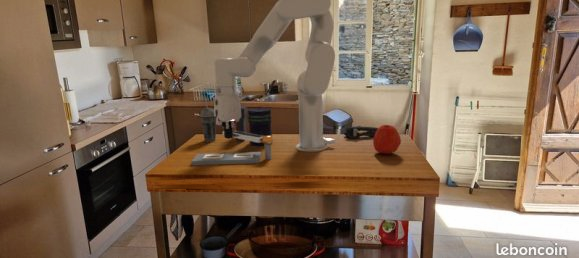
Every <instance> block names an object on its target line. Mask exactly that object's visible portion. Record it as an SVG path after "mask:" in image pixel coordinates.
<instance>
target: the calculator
mask: <svg viewBox="0 0 579 258" xmlns="http://www.w3.org/2000/svg"><path fill="white" fill-rule="evenodd" d="M240 106H241V118H240V119H239V121H238V122H236V123H235V131H240V132H245V133H248V132H247V131H248V129H247V115H248V105H247V104H240ZM245 141H246V140H243V139H238V138H236V142H245Z"/></svg>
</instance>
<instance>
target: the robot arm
mask: <svg viewBox="0 0 579 258" xmlns="http://www.w3.org/2000/svg"><path fill="white" fill-rule="evenodd" d="M331 1H332V0H278V1H277V2H276V3H275V5H274V6H273V7H272V8H271V9H270V11H269V13H268V14H267V16H266V17H265V18H264V20H262V23H260V26H259V27H258V28H257V30H256V31H255V32H254V34H253V36H252V38H251V40H249V42H248V44H247V45H246V46H245V48H244V49H243V50H242V52H241V53H240V55H239V56H238V57H237V58H232V57H219V58H216V59H215V60H214V79H215V88H214V89H213V92H214V93H216V94H215V95H214V100H213V101H214V105H213V109H214V117H215V120H216V126H221V127H222V128H223V131H224V135H223V136H224V138H225V139H228V140H230V139H233V130H234V129H233V128H234V127H235V125H236V122H238V121H239V119H240V118H241V106H240V105H241V102H240V96H239V94H238V93H237V87H236V86H237V83H236V82H237V81H236V77H237V78H249V77H252V76H253V75H254V74H255V73H256V67H257V65H258V63H260V61H261V60H262V58H263V56H264V55H265V54H267V52H268V51H269V50H271V49H272V48H273V47H274V46H275V45H276V44H277V42H278V41H279V40H280V38H281V37H282V35H283V34H284V33H285V31H286V30H287V28H288V27H289V25H291V23H292V22H293V20H300V19H306V18H309V19H310V22H311V26H310V27H311V28H310V33H309V38H308V42H307V46H306V50H305V52H304V54H305V56H304V57H305V61H306V63H307V65H306V66H307V67H306V70H303V71H302V72H301V73H300V74H299V75H298V77H297V81H296V88H297V97H298V98H297V99H298V129H299V130H298V131H299V134H298V135H299V143H297V144H296V145H295V149H296V150H298V151H301V152H320V151H324V150H326V149H328V146H327V145H328V144H329V145H335V144H336V141H335V138H325V137H324V122H323V121H324V117H323V115H324V112H323V110H324V109H323V108H324V107H323V105H324V104H323V96H322V95H323V94H325V93H326V91H327V89H328V87H329V84H330V80H331V77H332V73H333V69H334V66H335V61H336V60H335V59H336V53H335V52H336V51H335V49H334V47H333V46H332V45H331V43H332V39H333V34H334V27H335V26H334V24H335V23H334V19H333V15H332V13H331V11H330V8H331V5H332V2H331Z"/></svg>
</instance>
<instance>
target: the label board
mask: <svg viewBox="0 0 579 258" xmlns="http://www.w3.org/2000/svg"><path fill="white" fill-rule="evenodd" d="M261 157H262V152H261V151H246V152H241V151H240V152H218V153H215V152H213V153H197V154H196V155H195V156H194V157H193V159H192V160H191V166H209V165H210V166H213V165H214V166H215V165H240V164H241V165H243V164H244V165H245V164H247V165H248V164H260V162H261ZM264 160H266V161H271V160H272V144H271V143H270V144H264Z"/></svg>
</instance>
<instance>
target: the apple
mask: <svg viewBox="0 0 579 258" xmlns="http://www.w3.org/2000/svg"><path fill="white" fill-rule="evenodd" d="M377 128H378V129H377V131H375V132H374V133H375V136H374V137H373V141H372V143H373V148H374V150H375V152H378V153H380V154H393V153H395V152H397V150H398V149H399V148H400V146H401V143H402V139H401V136H400V134H399V131H398V129H397V128H396V127H395V126H394V125H390V124H383V125H380V126H379V127H377Z"/></svg>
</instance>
